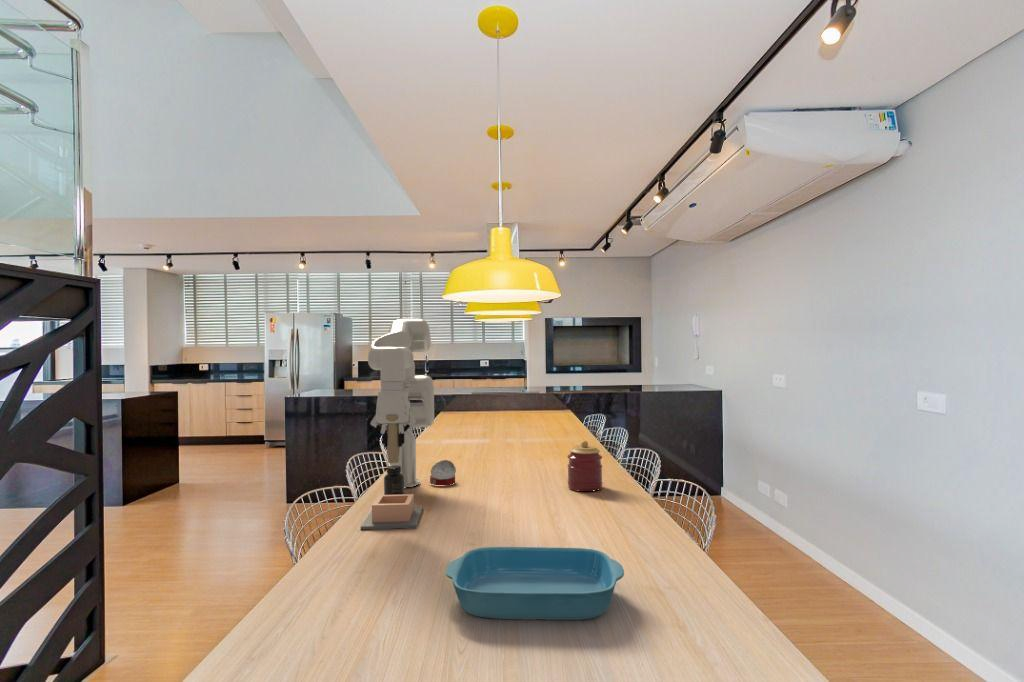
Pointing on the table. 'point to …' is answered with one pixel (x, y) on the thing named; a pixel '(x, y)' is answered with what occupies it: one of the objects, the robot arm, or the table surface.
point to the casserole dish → (535, 582)
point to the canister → (584, 468)
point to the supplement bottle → (394, 481)
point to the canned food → (443, 473)
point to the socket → (393, 512)
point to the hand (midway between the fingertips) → (393, 445)
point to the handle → (393, 440)
